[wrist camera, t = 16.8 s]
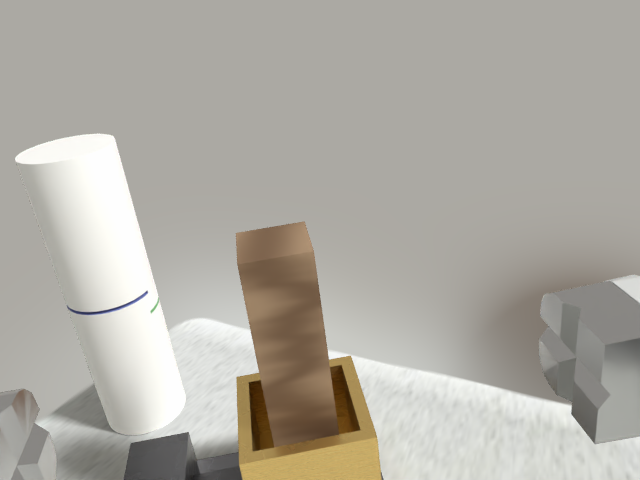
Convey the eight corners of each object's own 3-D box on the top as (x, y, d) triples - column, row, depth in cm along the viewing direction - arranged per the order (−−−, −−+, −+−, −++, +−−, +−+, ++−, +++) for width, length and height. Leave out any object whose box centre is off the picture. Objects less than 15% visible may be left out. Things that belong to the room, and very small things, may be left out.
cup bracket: (118, 665, 35) (64, 544, 31) (146, 479, 48) (111, 374, 43) (417, 599, 36) (408, 473, 32) (368, 436, 49) (356, 329, 45)
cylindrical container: (91, 421, 55) (-6, 160, 44) (147, 375, 60) (73, 132, 49) (147, 444, 51) (57, 167, 40) (201, 392, 57) (134, 135, 46)
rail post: (281, 488, 38) (236, 265, 31) (276, 441, 41) (235, 232, 35) (345, 475, 38) (314, 251, 31) (334, 429, 42) (305, 221, 35)
